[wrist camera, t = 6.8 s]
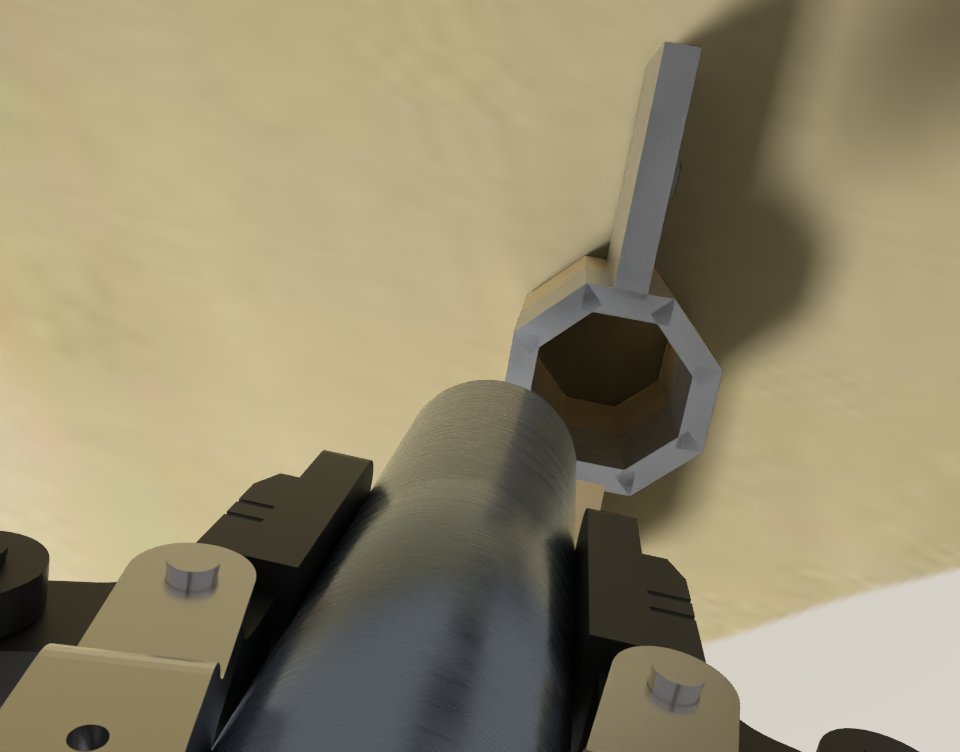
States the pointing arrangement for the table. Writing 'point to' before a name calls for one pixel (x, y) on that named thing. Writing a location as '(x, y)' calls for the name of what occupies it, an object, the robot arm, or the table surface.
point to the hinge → (630, 313)
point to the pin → (438, 598)
